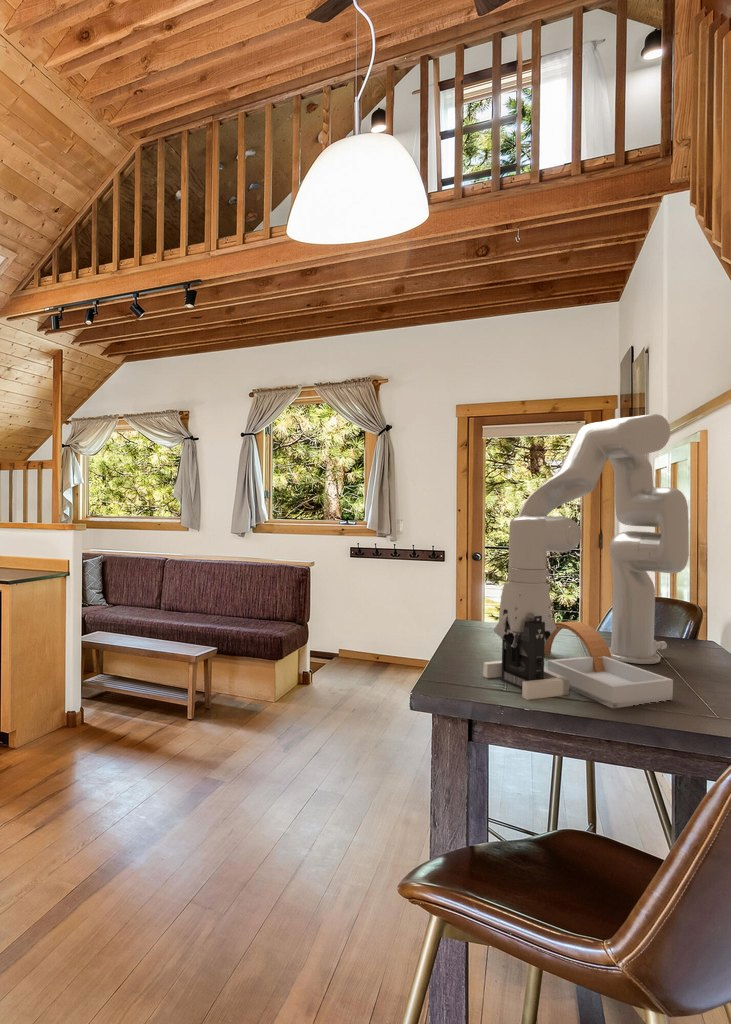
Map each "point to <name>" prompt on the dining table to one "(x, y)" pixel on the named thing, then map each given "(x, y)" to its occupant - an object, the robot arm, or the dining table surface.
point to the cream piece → (533, 682)
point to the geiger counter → (526, 655)
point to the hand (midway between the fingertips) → (524, 663)
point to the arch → (589, 639)
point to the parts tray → (613, 681)
